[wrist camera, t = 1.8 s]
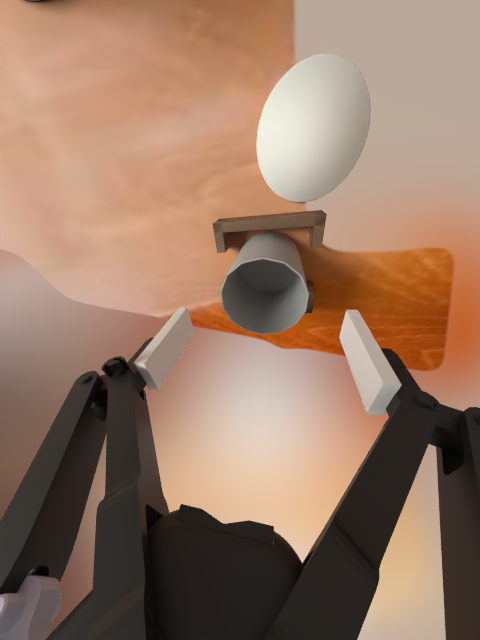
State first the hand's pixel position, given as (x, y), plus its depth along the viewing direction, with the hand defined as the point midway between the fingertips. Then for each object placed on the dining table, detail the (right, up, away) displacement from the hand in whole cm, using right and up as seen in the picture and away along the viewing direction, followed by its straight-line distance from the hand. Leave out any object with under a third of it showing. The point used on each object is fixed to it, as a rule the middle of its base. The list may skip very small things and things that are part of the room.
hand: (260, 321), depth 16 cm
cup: (+2, +8, +10) cm, 13 cm away
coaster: (+5, +17, +2) cm, 18 cm away
